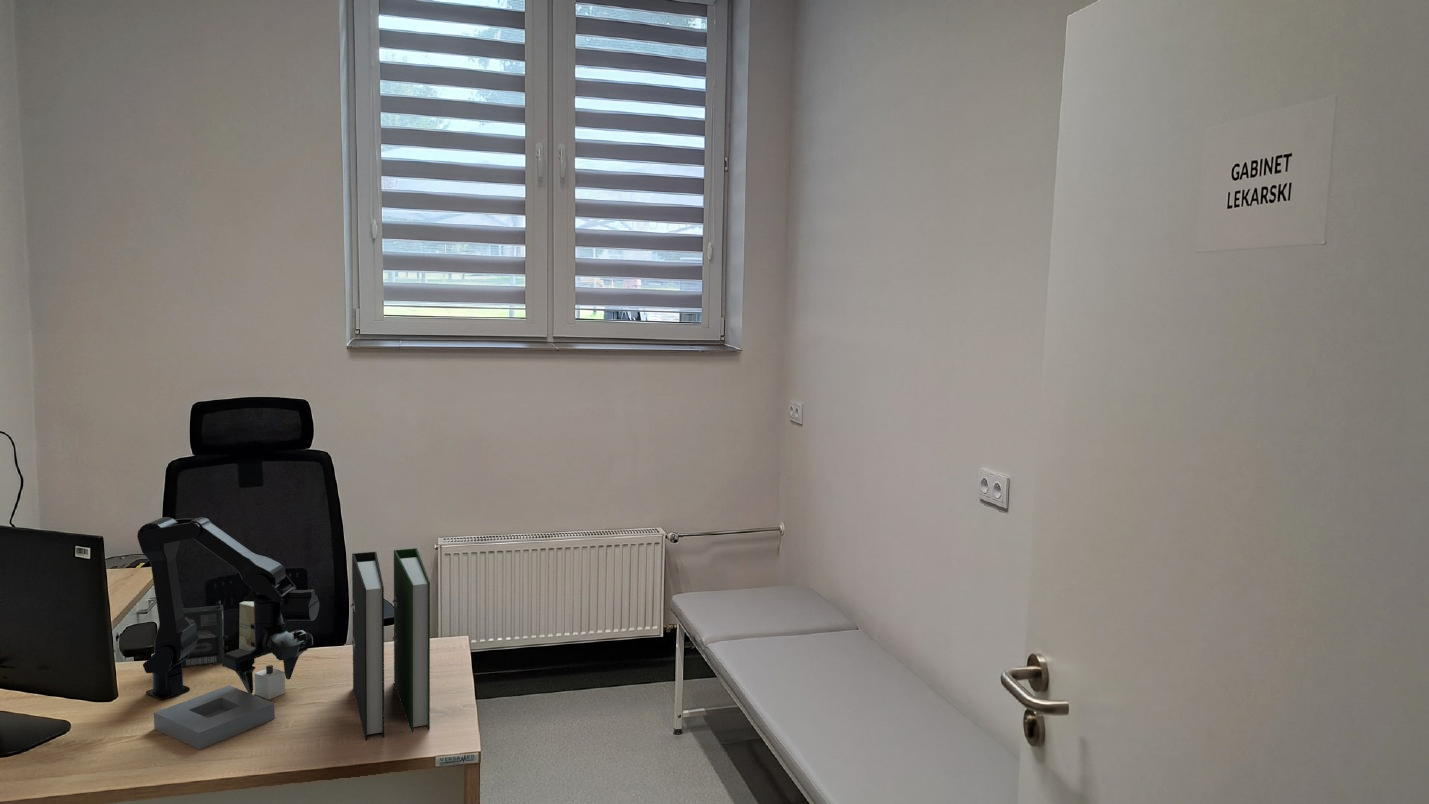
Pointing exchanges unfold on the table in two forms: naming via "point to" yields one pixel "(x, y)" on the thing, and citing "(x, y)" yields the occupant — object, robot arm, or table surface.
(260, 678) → the plug
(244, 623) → the skincare box
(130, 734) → the table surface
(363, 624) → the books
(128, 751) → the table surface
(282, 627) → the robot arm
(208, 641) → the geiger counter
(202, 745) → the socket
